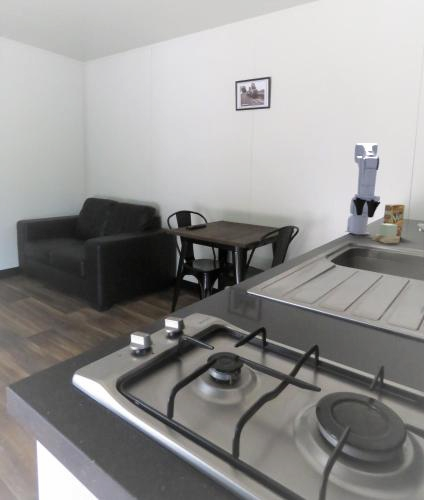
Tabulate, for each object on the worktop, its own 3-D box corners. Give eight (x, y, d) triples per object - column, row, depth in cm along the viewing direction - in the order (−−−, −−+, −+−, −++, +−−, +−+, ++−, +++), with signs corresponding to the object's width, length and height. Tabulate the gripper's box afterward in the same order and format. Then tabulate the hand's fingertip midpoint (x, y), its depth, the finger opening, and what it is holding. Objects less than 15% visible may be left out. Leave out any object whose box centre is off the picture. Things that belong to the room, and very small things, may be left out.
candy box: (388, 238, 173) (393, 205, 170) (381, 236, 177) (384, 204, 174) (401, 237, 177) (405, 204, 174) (393, 235, 181) (397, 203, 178)
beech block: (374, 241, 168) (375, 234, 167) (388, 240, 169) (388, 234, 169) (384, 244, 161) (385, 237, 161) (398, 243, 163) (399, 237, 162)
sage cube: (378, 234, 166) (379, 223, 165) (387, 234, 168) (389, 223, 167) (386, 236, 162) (388, 225, 160) (396, 236, 163) (397, 225, 162)
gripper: (349, 184, 170) (347, 214, 172) (371, 185, 156) (367, 218, 159) (363, 184, 171) (360, 214, 174) (385, 186, 158) (381, 218, 161)
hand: (364, 216), depth 167 cm, fingers open, 7 cm apart
